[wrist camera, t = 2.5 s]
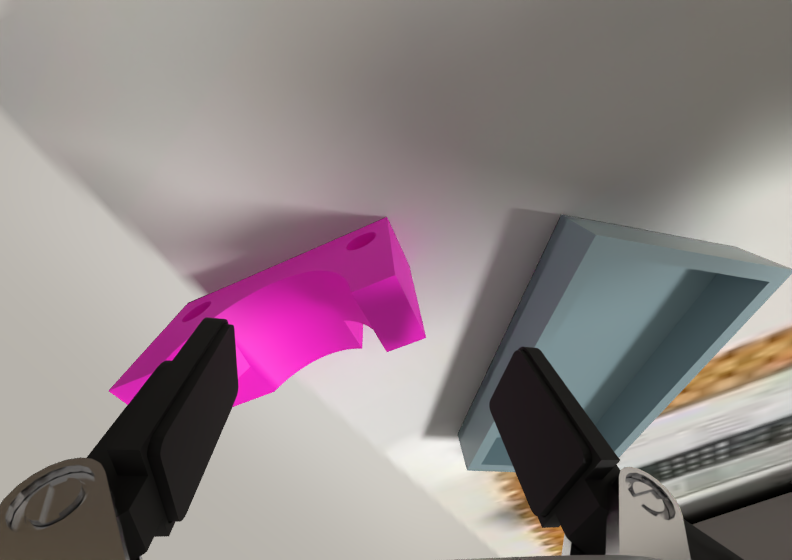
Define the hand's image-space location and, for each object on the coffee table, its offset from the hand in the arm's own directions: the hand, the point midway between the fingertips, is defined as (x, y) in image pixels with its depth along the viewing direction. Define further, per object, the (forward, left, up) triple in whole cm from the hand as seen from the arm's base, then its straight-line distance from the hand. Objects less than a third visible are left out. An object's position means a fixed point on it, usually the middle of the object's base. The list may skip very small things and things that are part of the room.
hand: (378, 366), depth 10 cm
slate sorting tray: (-19, +8, -11) cm, 23 cm away
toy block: (+4, +5, -11) cm, 13 cm away
